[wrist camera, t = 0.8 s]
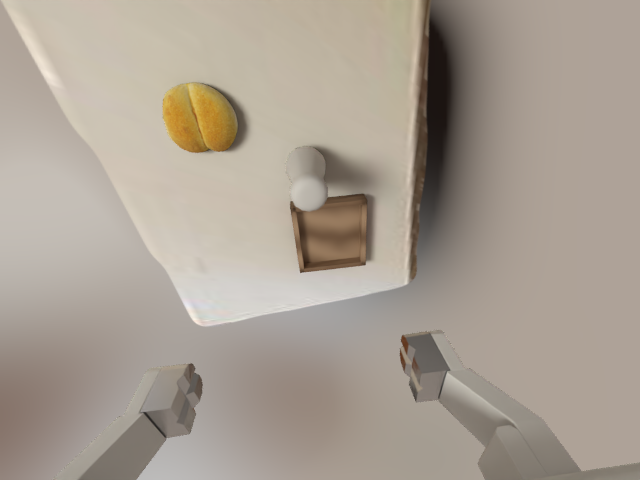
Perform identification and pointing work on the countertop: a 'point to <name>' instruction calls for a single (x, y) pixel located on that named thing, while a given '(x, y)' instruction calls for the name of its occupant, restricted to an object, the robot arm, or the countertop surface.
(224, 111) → the bread roll
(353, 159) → the countertop surface
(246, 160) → the countertop surface
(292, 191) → the salt shaker
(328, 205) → the tray
